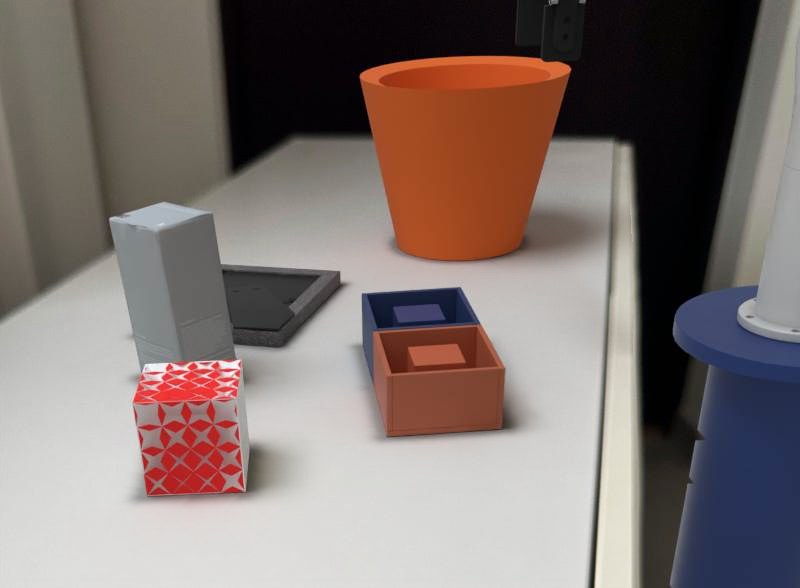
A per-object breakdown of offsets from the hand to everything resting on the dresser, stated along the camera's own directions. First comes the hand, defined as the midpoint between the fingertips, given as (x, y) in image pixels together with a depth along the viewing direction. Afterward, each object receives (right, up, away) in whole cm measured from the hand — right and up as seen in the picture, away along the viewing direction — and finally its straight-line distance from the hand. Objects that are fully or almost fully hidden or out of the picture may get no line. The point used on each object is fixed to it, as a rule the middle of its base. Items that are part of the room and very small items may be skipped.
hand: (546, 52), depth 90 cm
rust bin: (-9, -29, +5) cm, 31 cm away
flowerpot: (-1, +1, +47) cm, 47 cm away
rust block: (-9, -29, +5) cm, 31 cm away
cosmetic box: (-33, -25, +13) cm, 43 cm away
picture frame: (-28, -13, +29) cm, 43 cm away
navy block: (-10, -23, +14) cm, 28 cm away
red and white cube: (-29, -37, -3) cm, 47 cm away
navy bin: (-10, -23, +14) cm, 29 cm away
